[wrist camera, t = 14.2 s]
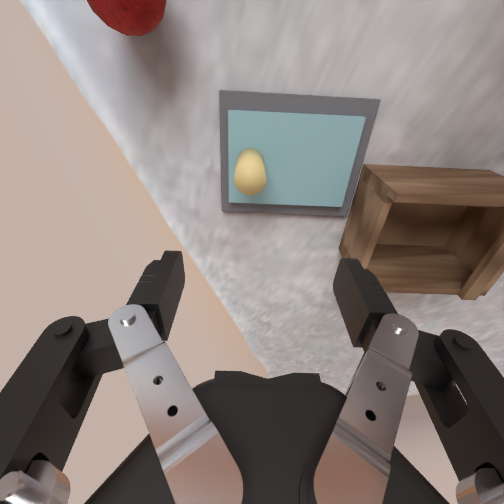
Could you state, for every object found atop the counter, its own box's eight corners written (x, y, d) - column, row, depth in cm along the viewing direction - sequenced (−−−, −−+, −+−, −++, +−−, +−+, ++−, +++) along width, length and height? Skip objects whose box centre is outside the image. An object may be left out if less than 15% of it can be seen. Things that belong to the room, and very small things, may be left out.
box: (363, 164, 30) (402, 197, 23) (489, 170, 31) (568, 204, 23) (338, 248, 37) (361, 296, 29) (441, 252, 38) (489, 300, 30)
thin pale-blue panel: (228, 109, 26) (223, 120, 21) (363, 116, 27) (389, 128, 22) (229, 199, 32) (225, 225, 27) (340, 204, 32) (356, 230, 27)
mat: (219, 90, 26) (219, 90, 25) (378, 99, 26) (380, 99, 26) (222, 208, 33) (221, 211, 33) (345, 214, 34) (346, 216, 33)
